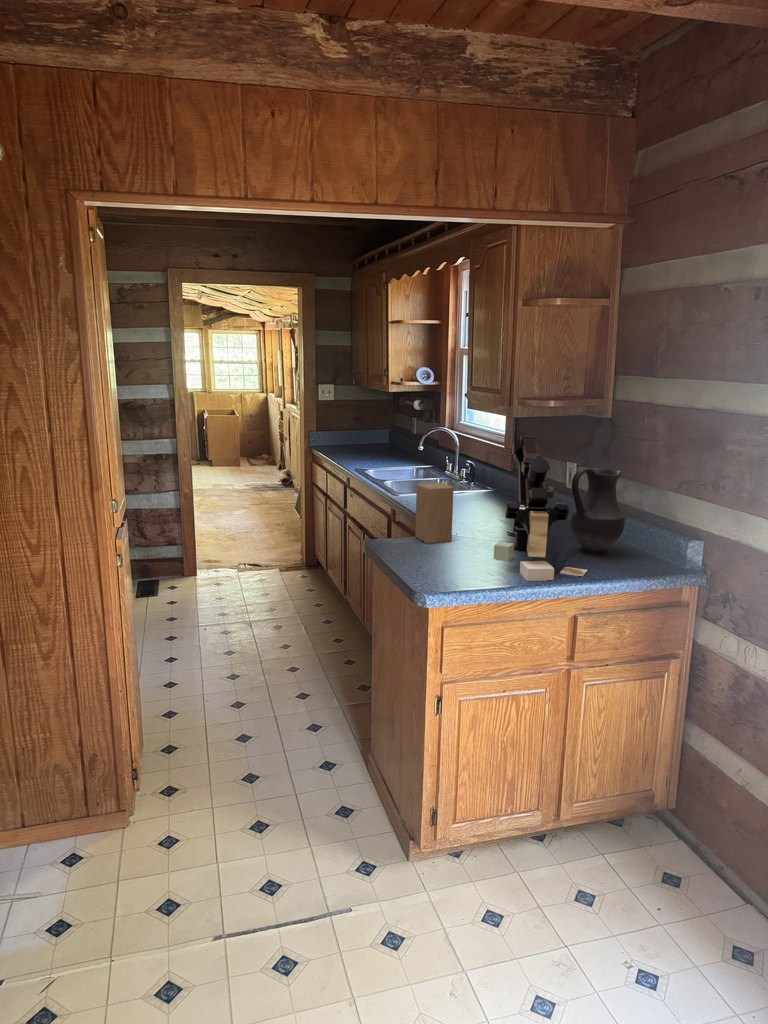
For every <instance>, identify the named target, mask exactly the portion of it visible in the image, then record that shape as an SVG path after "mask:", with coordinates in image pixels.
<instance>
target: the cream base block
mask: <svg viewBox="0 0 768 1024" xmlns="http://www.w3.org/2000/svg"><path fill="white" fill-rule="evenodd" d="M519 563H520V564H519V574H520V575H521V576H522V577H523V578H524V579H525V580H526V581H527V582H540V581H542V582H545V581H546V582H547V580H553V581H554V580H555V579H554V578H555V568H554V567H553V566H552V565H551V564H550V563H549V562H547V561H546V560H532V561H531V560H529V561H528V560H527V561H525V560H523V561H522V560H521V561H520V562H519Z"/></svg>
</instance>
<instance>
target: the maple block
mask: <svg viewBox="0 0 768 1024" xmlns="http://www.w3.org/2000/svg"><path fill="white" fill-rule="evenodd" d="M548 516H549V515H548V514H547V512H542V511H530V515H529V527H530V535H528V543H527V551H526V553H527V556H528V557H529V558H532V557H534V558H546V556H547V555H546V553H547V541H548V540H547V539H548V535H547V530H548Z"/></svg>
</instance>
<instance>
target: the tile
mask: <svg viewBox="0 0 768 1024" xmlns="http://www.w3.org/2000/svg"><path fill="white" fill-rule="evenodd" d="M587 571H588V569H583V568H577V567H569V566H565V567H564V568H562V570H560V572H559V574H560V575H565V574H566V575H565V576H572V575H573V577H578V576H582V577H581V578H583V577H584V576H585V575H586V574H587V573H588V572H587ZM586 572H587V573H586ZM585 573H586V574H585Z"/></svg>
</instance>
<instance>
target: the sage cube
mask: <svg viewBox="0 0 768 1024" xmlns="http://www.w3.org/2000/svg"><path fill="white" fill-rule="evenodd" d="M514 545H515V543H514V542H513V543H511V542H505V541H498V542H496V543H495V544H494V546H493V560H494V559H496V561H501V562H510V561H511V560H513V558H514V550H515V549H514ZM509 560H510V561H509Z"/></svg>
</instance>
